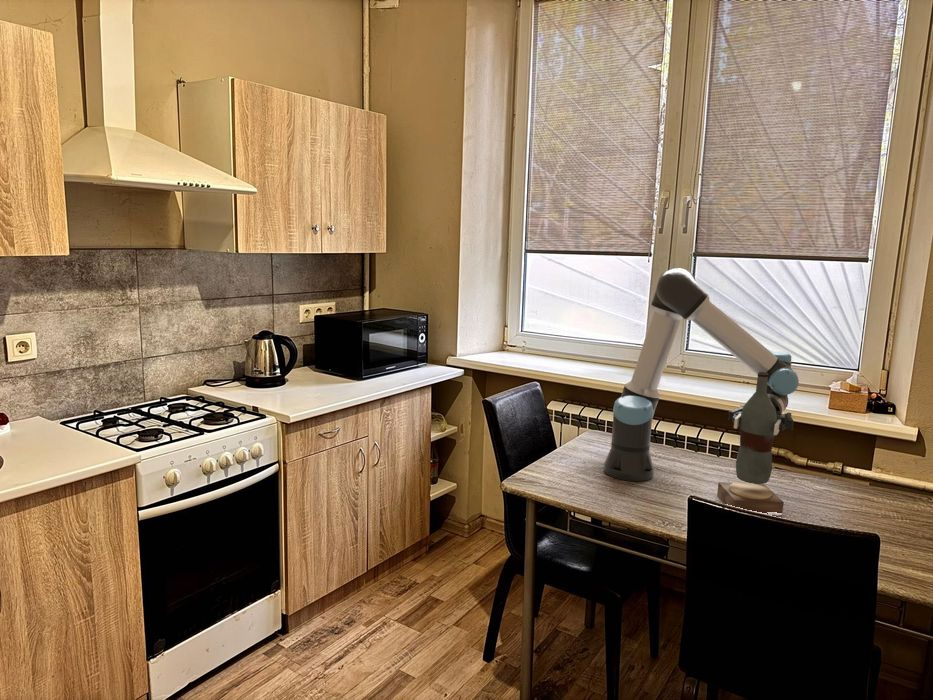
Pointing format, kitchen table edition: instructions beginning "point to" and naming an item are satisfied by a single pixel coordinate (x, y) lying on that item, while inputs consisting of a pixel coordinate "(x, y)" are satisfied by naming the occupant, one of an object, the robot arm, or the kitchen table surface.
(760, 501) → the soap dish
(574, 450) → the kitchen table surface
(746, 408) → the vodka
